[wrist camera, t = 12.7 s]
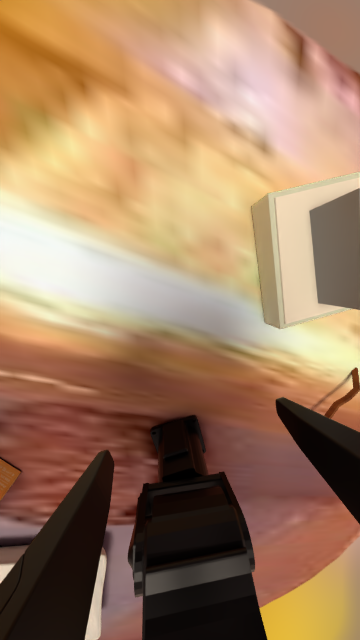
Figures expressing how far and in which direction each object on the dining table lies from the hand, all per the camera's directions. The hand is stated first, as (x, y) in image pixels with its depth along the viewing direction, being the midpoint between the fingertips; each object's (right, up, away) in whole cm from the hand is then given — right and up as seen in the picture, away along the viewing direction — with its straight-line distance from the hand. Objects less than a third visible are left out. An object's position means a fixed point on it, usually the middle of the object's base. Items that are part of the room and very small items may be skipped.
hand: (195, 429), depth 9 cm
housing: (+15, +12, +8) cm, 21 cm away
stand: (+15, +13, +11) cm, 22 cm away
